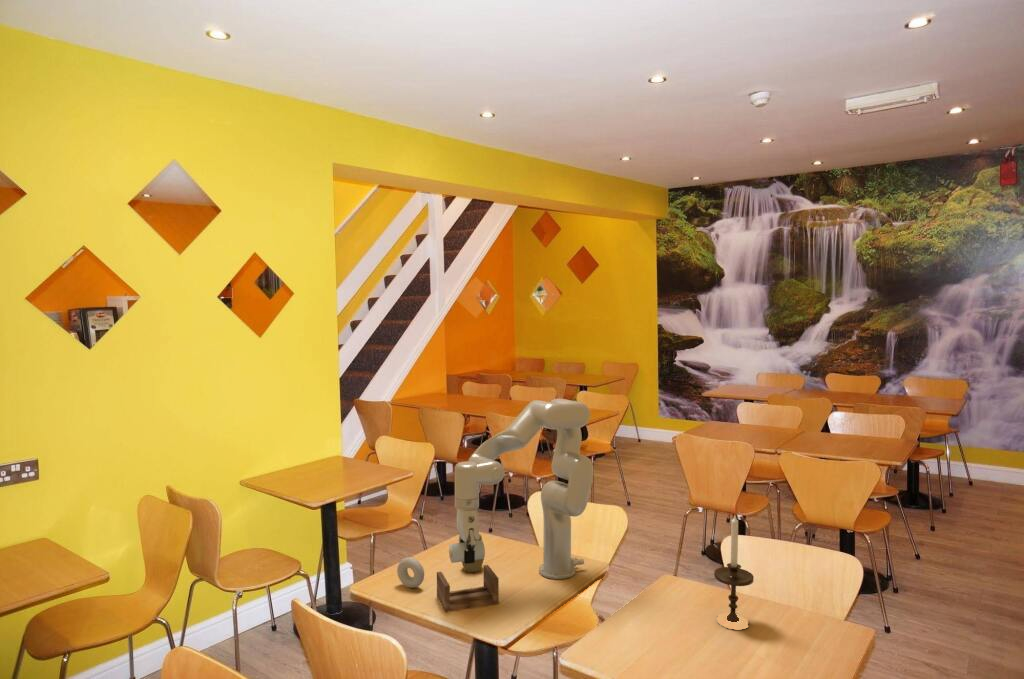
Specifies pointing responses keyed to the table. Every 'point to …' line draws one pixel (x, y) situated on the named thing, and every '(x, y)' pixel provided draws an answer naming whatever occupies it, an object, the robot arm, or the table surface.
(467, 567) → the squeeze bottle
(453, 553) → the roll
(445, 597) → the cradle
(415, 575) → the donut
